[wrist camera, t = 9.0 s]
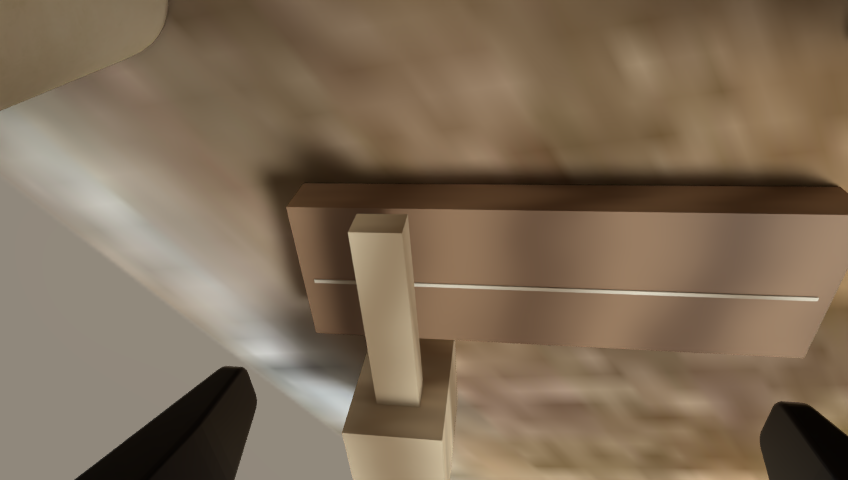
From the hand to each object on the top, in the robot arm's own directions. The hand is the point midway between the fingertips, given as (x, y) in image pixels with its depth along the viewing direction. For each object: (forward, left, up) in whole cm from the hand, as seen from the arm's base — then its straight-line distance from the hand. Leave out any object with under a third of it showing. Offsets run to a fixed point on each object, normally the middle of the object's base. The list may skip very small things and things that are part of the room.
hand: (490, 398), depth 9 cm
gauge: (+4, +8, -12) cm, 15 cm away
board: (-2, +5, -12) cm, 13 cm away
